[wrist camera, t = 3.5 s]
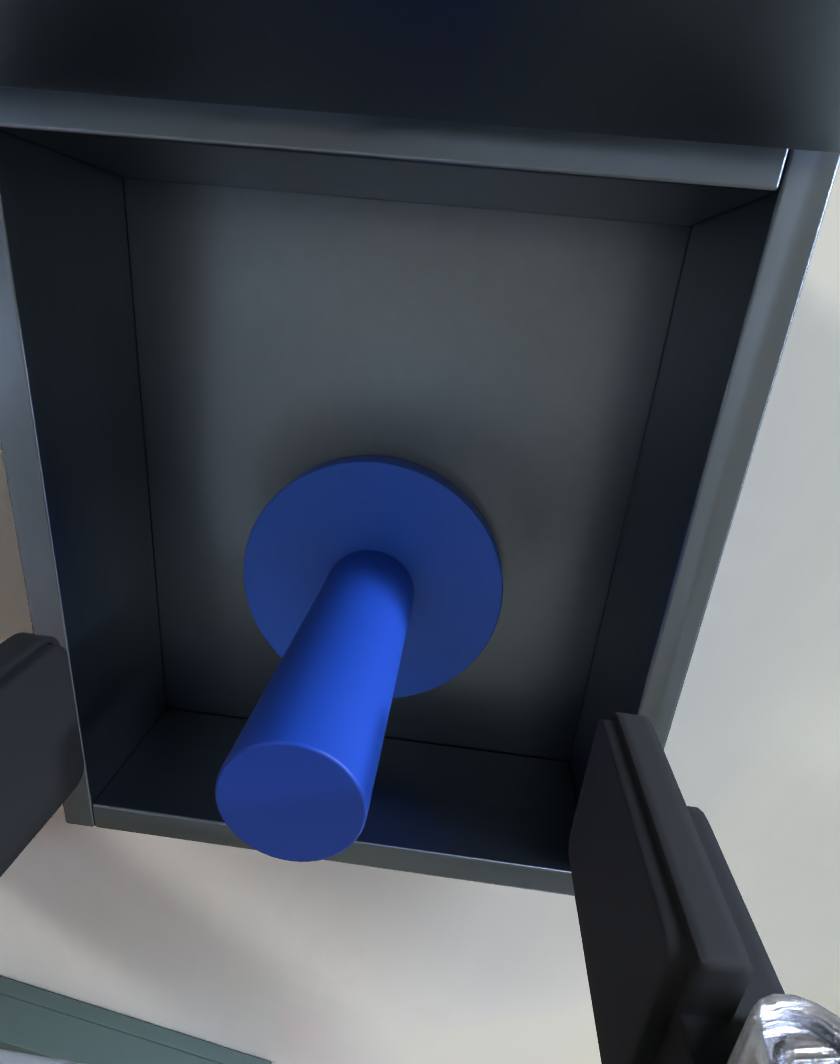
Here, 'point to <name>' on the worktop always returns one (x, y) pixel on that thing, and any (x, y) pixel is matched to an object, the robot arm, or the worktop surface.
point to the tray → (95, 1033)
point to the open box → (381, 425)
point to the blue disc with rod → (350, 640)
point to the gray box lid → (458, 61)
